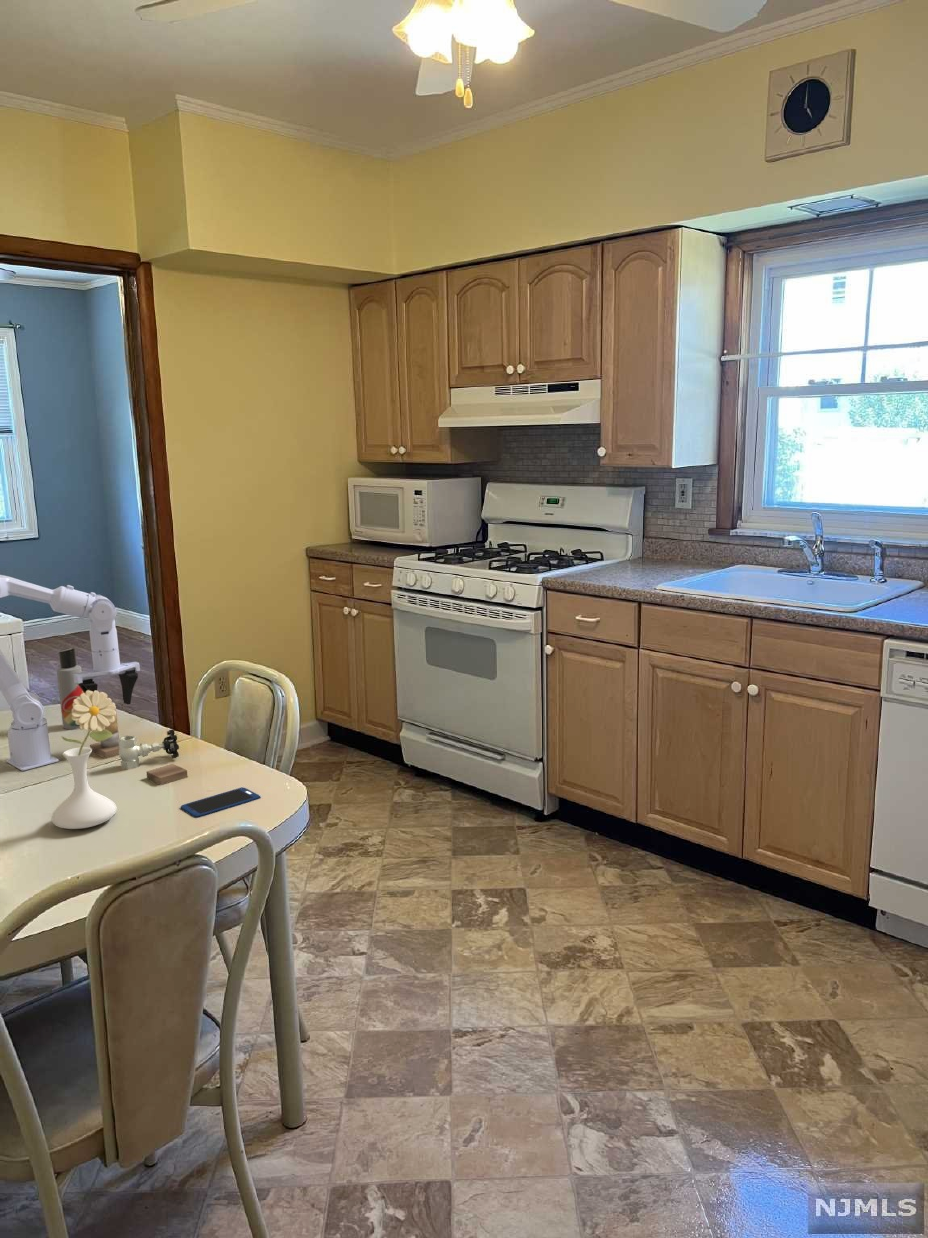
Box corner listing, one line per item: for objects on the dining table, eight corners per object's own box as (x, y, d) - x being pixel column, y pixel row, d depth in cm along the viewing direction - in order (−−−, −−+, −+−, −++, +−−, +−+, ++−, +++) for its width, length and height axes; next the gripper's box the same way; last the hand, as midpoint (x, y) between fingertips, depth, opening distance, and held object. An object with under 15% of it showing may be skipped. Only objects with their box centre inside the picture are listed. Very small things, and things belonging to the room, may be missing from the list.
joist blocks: (90, 750, 212) (89, 744, 212) (115, 744, 216) (114, 738, 216) (161, 785, 189) (160, 778, 189) (187, 776, 194) (186, 770, 193)
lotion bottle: (81, 729, 228) (73, 650, 225) (59, 730, 229) (50, 651, 225) (91, 722, 234) (82, 645, 230) (69, 723, 234) (60, 646, 230)
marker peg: (98, 745, 211) (94, 711, 210) (114, 741, 214) (111, 707, 212) (105, 749, 208) (102, 715, 207) (122, 744, 211) (119, 711, 210)
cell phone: (262, 799, 181) (262, 796, 181) (196, 820, 172) (196, 816, 172) (243, 790, 186) (243, 786, 186) (179, 809, 177) (178, 805, 177)
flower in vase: (52, 840, 164) (35, 704, 159) (52, 817, 175) (36, 689, 170) (129, 826, 169) (115, 694, 164) (125, 804, 180) (112, 680, 175)
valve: (123, 773, 197) (180, 761, 203) (120, 743, 196) (177, 733, 202) (117, 764, 203) (172, 753, 209) (114, 736, 201) (169, 725, 208)
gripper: (80, 658, 201) (87, 717, 203) (143, 646, 211) (149, 703, 213) (67, 653, 206) (74, 711, 208) (129, 641, 216) (135, 697, 218)
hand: (111, 707), depth 211 cm, fingers open, 7 cm apart
